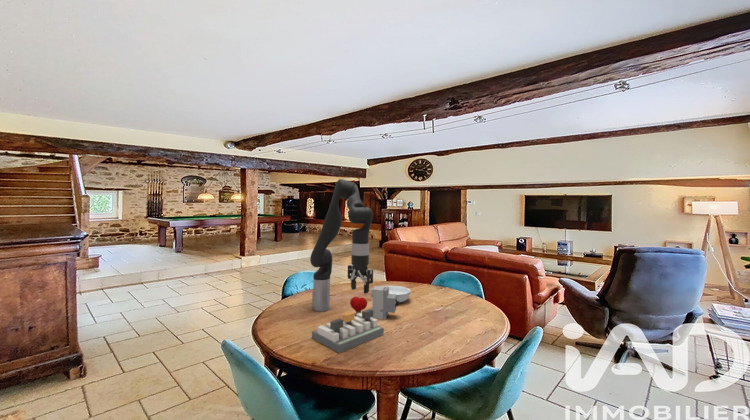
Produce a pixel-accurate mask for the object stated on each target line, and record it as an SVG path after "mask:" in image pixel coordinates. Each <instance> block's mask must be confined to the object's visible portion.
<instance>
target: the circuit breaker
mask: <svg viewBox="0 0 750 420" xmlns="http://www.w3.org/2000/svg"><path fill="white" fill-rule="evenodd" d="M385 286H386V285H382V286H381V285H374V286H373V287H372V288H371V290H370V298H372V304H371V308H370V309H372V310H373V317H372V318H374V319H377V320H378V319H379V320H387V317H388V315H389V313H390V314H395V313H396V311H397V307H398V306H399V305H400V302H399V301H397V294H389V287H385Z"/></svg>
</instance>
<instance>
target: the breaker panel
mask: <svg viewBox="0 0 750 420" xmlns="http://www.w3.org/2000/svg"><path fill="white" fill-rule="evenodd" d="M372 317H373V310H372V309H371V308H368V309H364V310H361V313H359V314H356V313H355V320H352V321H351V326H350V325H348V324H346V322H344V321H343V318H337V319H334V320H330V321H329V322H327V323H326V324H325V326H324V325H323V324H321V325H319V326H317V329H316V330H312V331H311V338H312V339H313V340H315V341H316V340H317V341H316V342H318V341H319V342H318V343H320V344H321V345H323V344H324V346H325V347H327V348H329V349H330V350H332V351H335V352H337V353H338V354H340V353H342V352H345V351H348V350H350V349H353V348H354V347H356V346H359V345H362V344H364V343H366V342H369V341H371V340H374V339H377V338H378V337H381V336H383V335H384V331H385V330H384V327H382V326H380V325H378V321H379V320H378V319H376V318H372Z"/></svg>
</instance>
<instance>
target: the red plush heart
mask: <svg viewBox="0 0 750 420" xmlns="http://www.w3.org/2000/svg"><path fill="white" fill-rule="evenodd" d="M349 303H350V307H351V309H353V310H354V311H355V315H356V314H359V313H361V314H362V311H364V310H366V308H367V306H368V300H367V299H366V298H365V297H359V296H354V297H351V299H350V302H349Z"/></svg>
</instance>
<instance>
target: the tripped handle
mask: <svg viewBox="0 0 750 420" xmlns="http://www.w3.org/2000/svg"><path fill="white" fill-rule="evenodd" d="M355 316H356V312H353V311H350V312H346V313H343V314H342V319H343V321H344V322H346V324H348V325H350V326H351V321H352V320H355Z"/></svg>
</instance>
